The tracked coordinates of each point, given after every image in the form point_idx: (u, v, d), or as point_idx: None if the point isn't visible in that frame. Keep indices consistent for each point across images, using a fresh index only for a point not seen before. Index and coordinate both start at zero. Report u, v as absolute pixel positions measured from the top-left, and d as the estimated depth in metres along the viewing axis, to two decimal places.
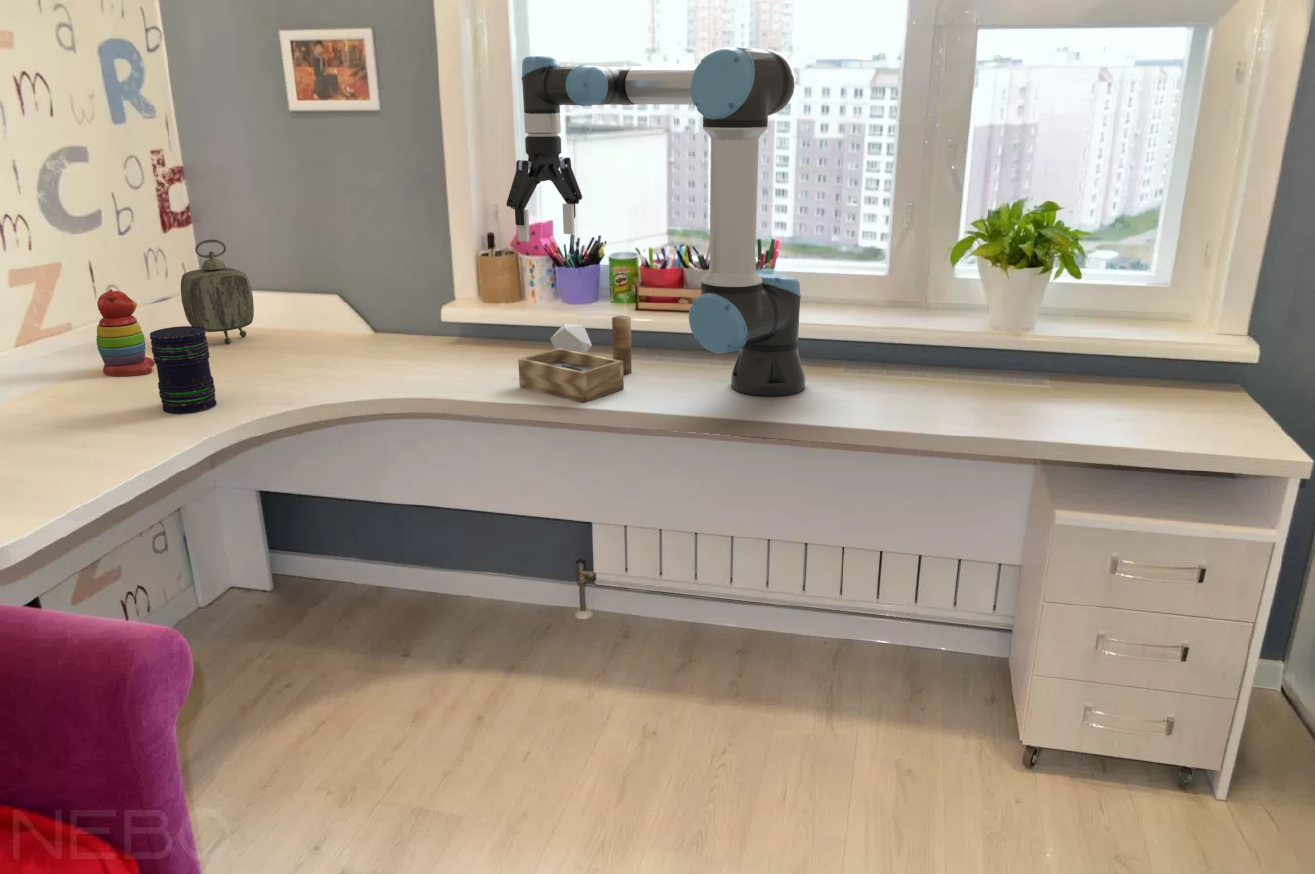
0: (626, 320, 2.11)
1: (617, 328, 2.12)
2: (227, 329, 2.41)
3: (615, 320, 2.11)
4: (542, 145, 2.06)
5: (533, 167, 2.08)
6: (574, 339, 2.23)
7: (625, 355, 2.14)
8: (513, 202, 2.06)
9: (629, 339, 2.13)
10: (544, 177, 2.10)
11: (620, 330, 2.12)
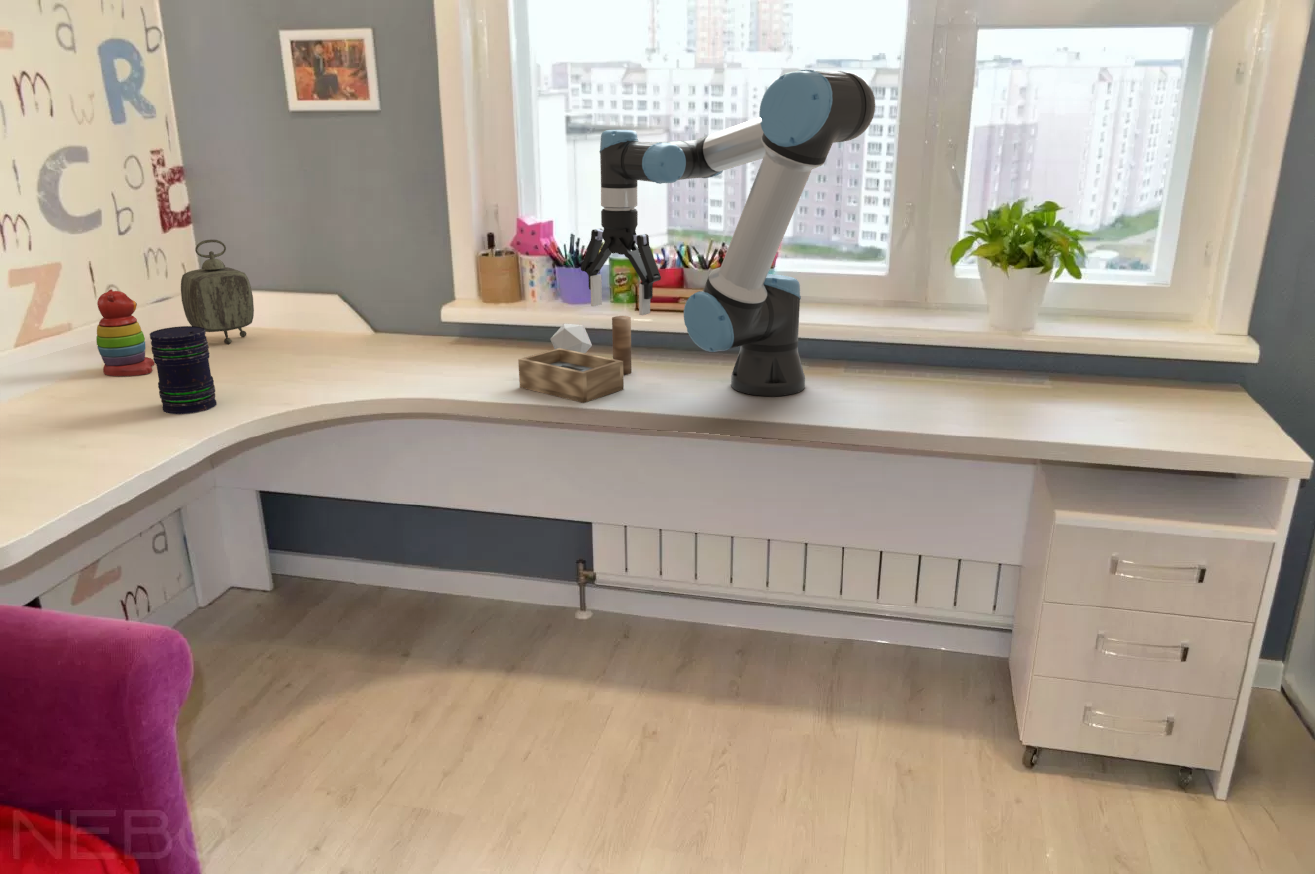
0: (626, 320, 2.11)
1: (617, 328, 2.12)
2: (227, 329, 2.41)
3: (615, 320, 2.11)
4: (601, 217, 2.06)
5: (602, 237, 2.09)
6: (574, 339, 2.23)
7: (625, 355, 2.14)
8: None
9: (629, 339, 2.13)
10: (612, 249, 2.08)
11: (620, 330, 2.12)
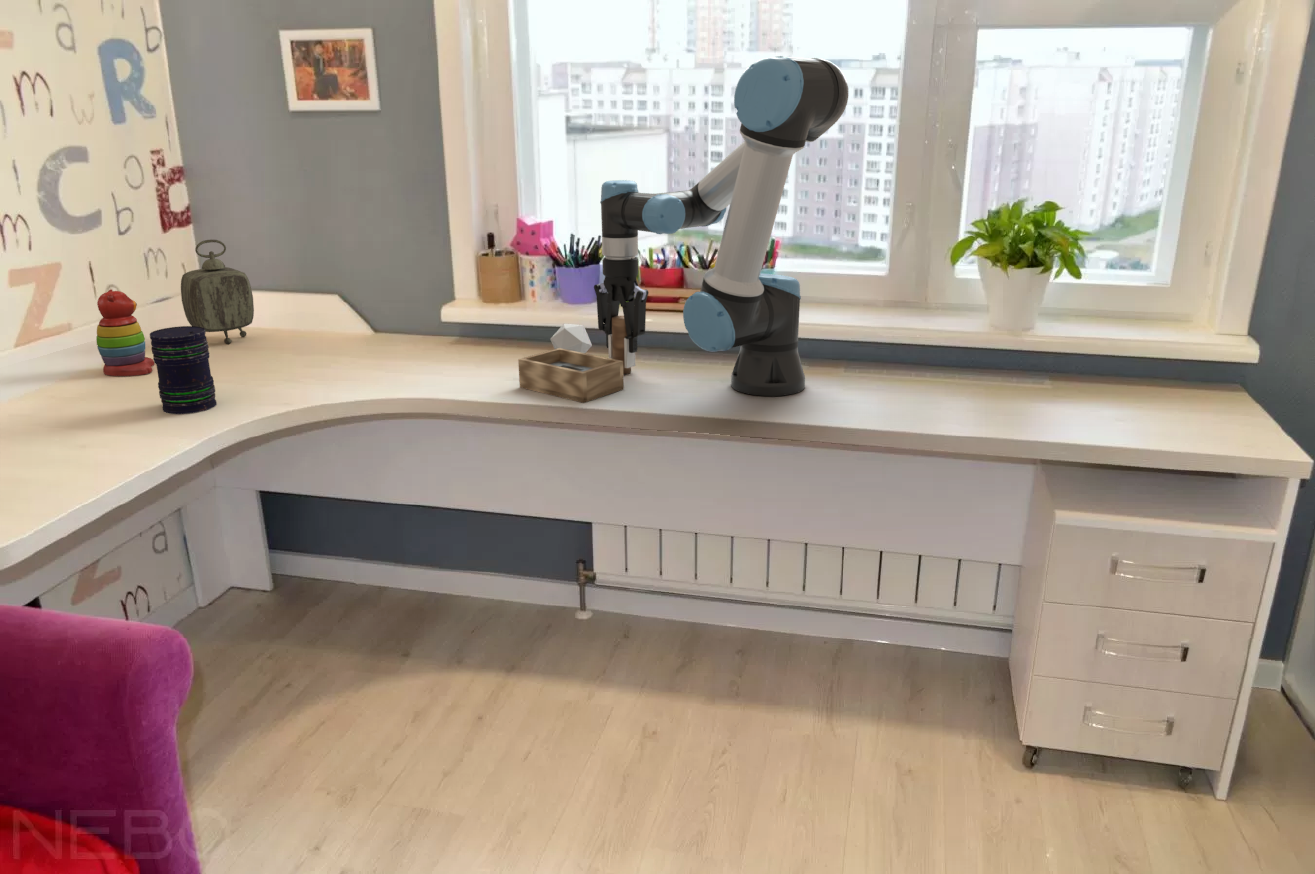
0: None
1: (616, 327, 2.12)
2: (227, 329, 2.41)
3: (615, 320, 2.11)
4: None
5: (604, 285, 2.12)
6: (574, 338, 2.23)
7: None
8: None
9: None
10: (613, 297, 2.11)
11: (620, 330, 2.12)
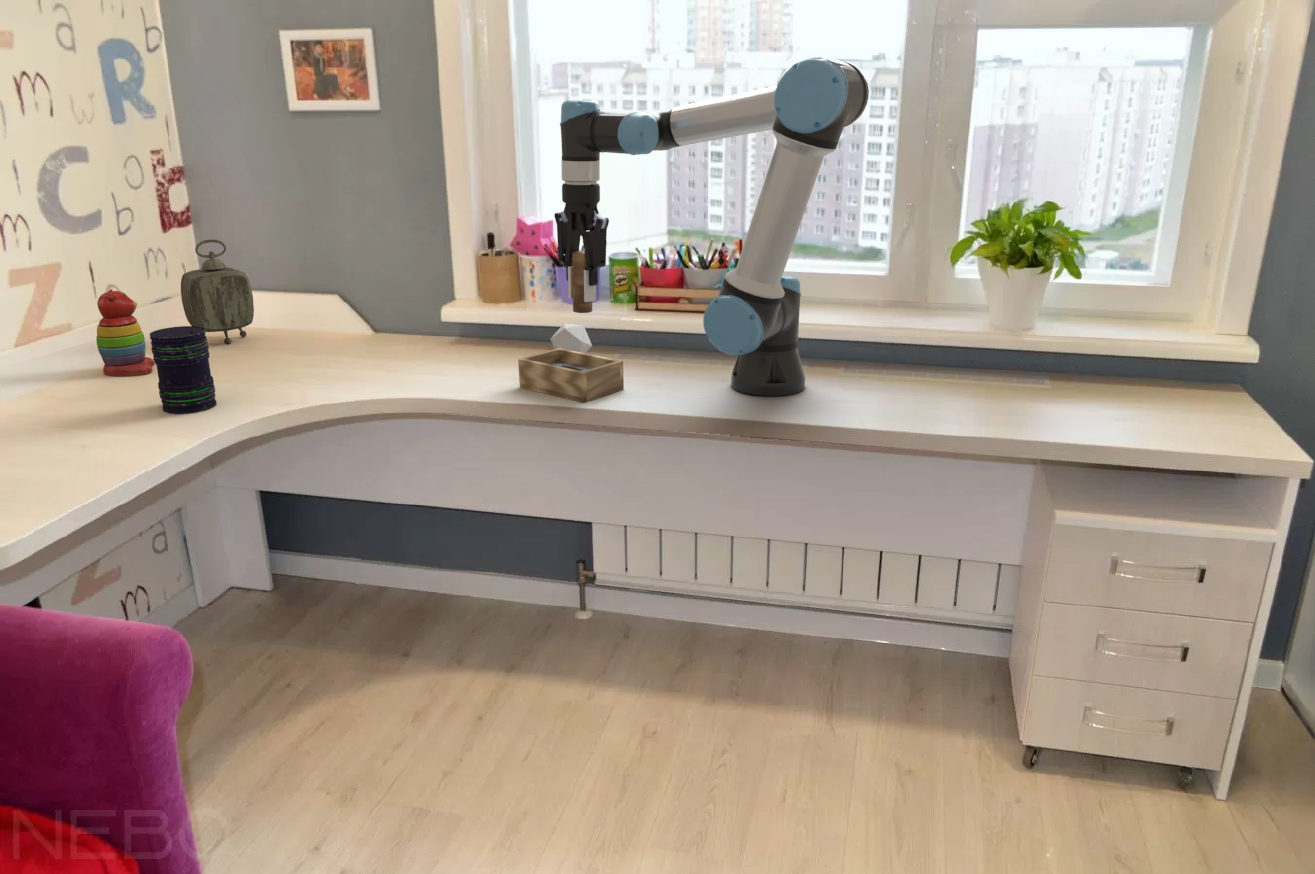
0: None
1: (576, 262, 2.01)
2: (227, 329, 2.41)
3: (575, 254, 2.01)
4: None
5: (564, 213, 2.01)
6: (574, 338, 2.23)
7: None
8: None
9: None
10: (573, 226, 2.00)
11: (580, 265, 2.01)
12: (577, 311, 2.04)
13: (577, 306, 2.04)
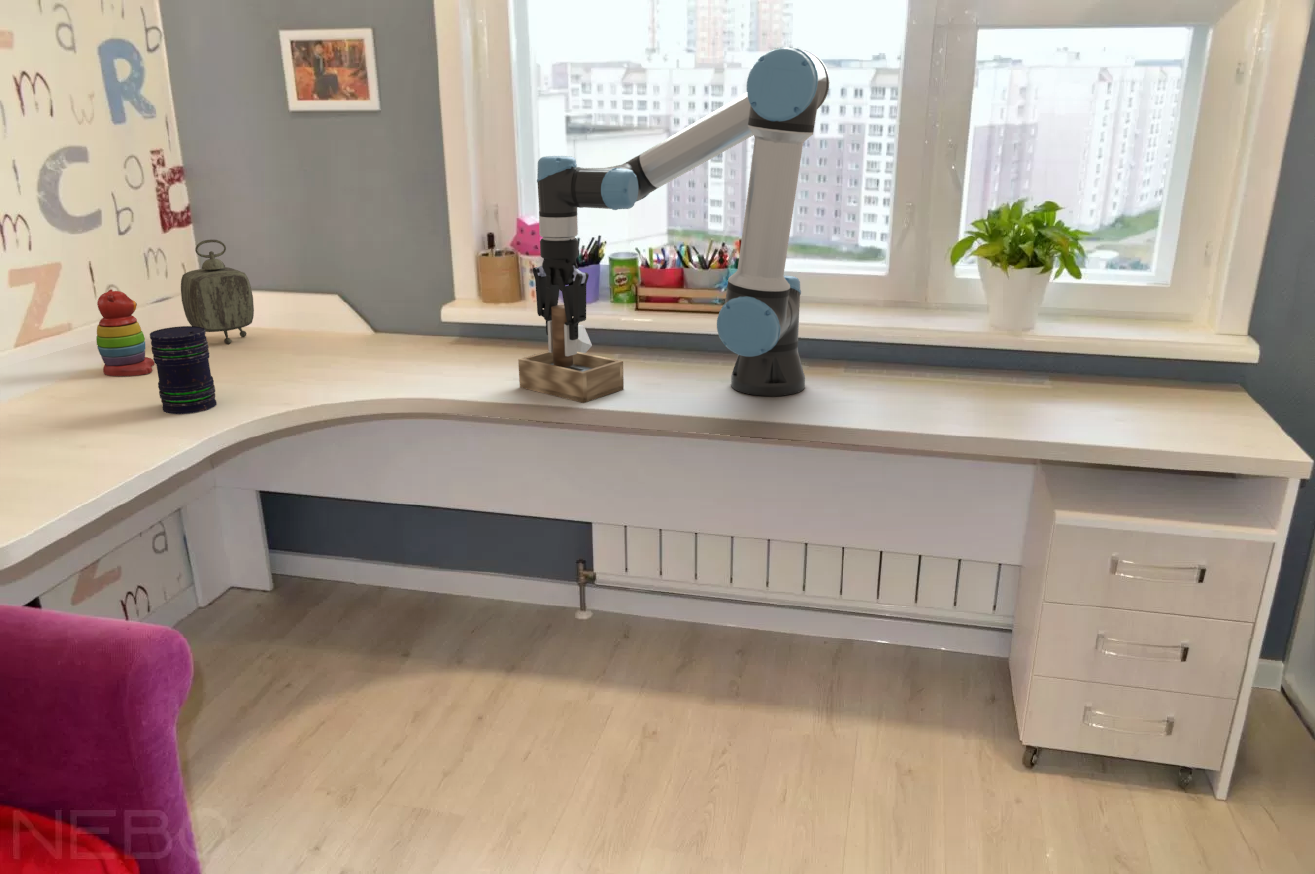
0: None
1: (556, 317, 2.00)
2: (227, 329, 2.41)
3: (554, 309, 1.99)
4: (540, 247, 1.97)
5: (543, 268, 2.00)
6: None
7: None
8: None
9: None
10: (552, 280, 1.99)
11: (560, 320, 2.00)
12: (558, 365, 2.03)
13: (557, 361, 2.03)
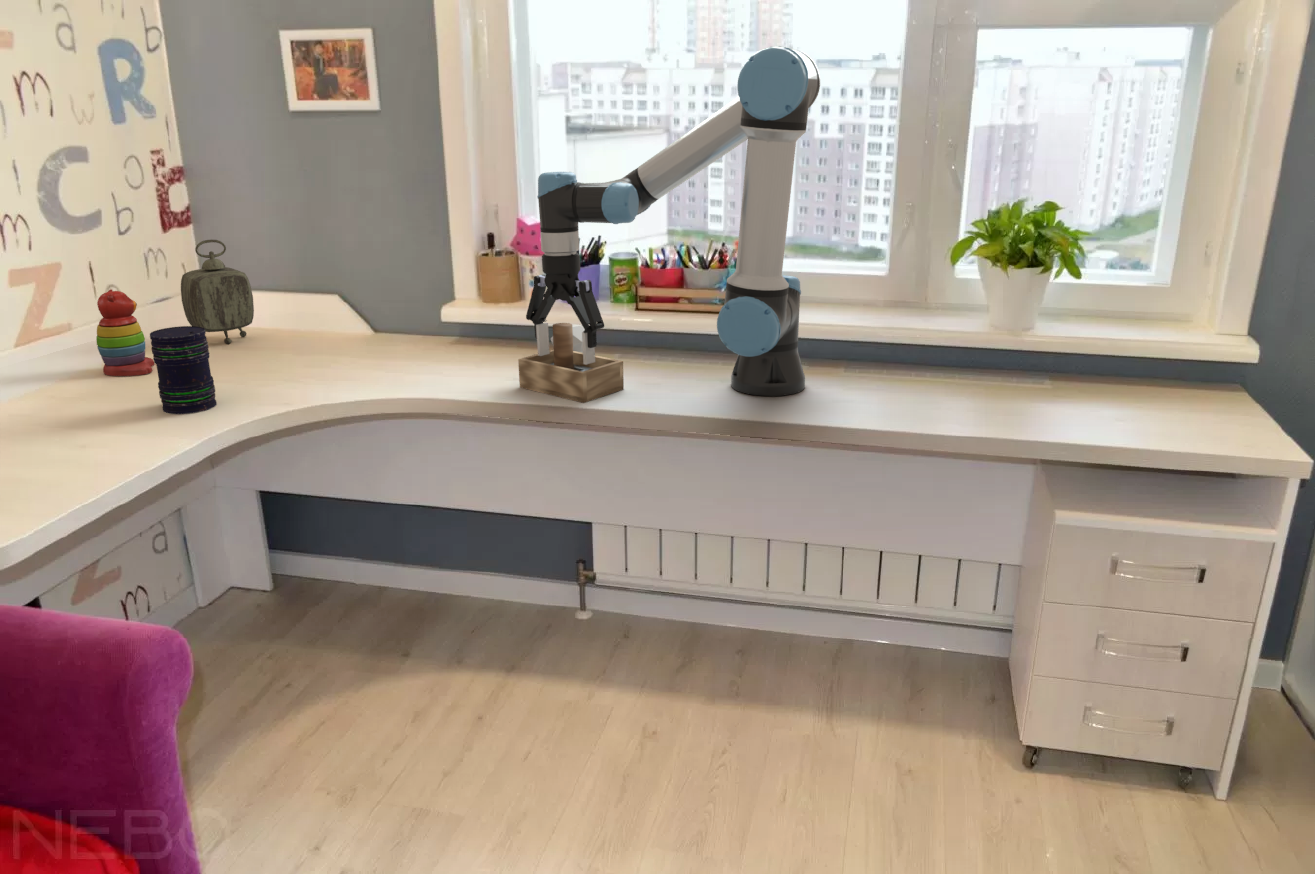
0: (567, 327, 2.00)
1: (557, 335, 2.01)
2: (227, 329, 2.41)
3: (555, 327, 2.01)
4: None
5: (545, 283, 2.01)
6: (574, 339, 2.23)
7: (567, 364, 2.03)
8: None
9: (571, 347, 2.02)
10: (555, 295, 1.99)
11: (561, 338, 2.01)
12: None
13: None
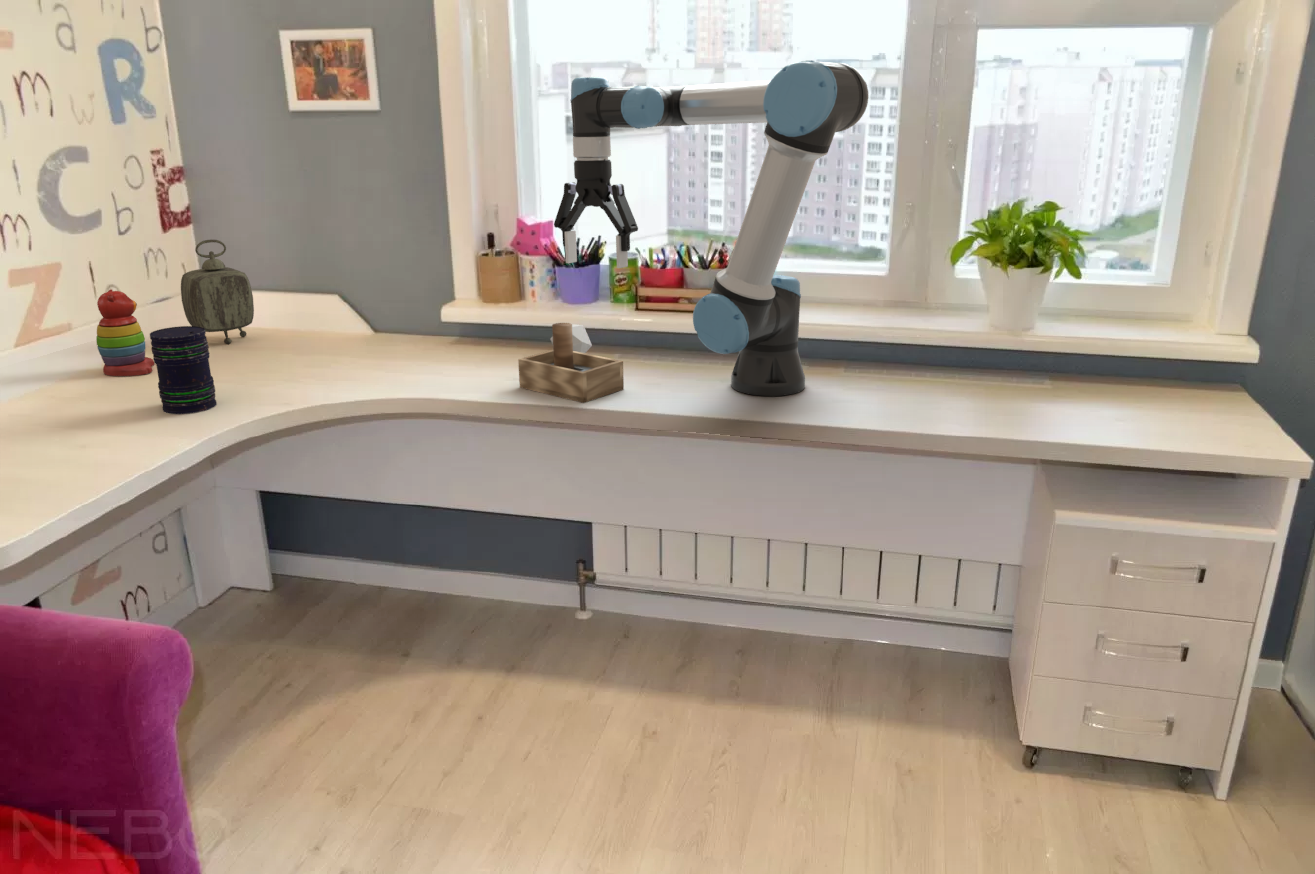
0: (567, 327, 2.01)
1: (557, 335, 2.01)
2: (227, 329, 2.41)
3: (555, 327, 2.01)
4: (574, 168, 2.00)
5: (576, 190, 2.04)
6: (574, 339, 2.23)
7: (567, 364, 2.03)
8: None
9: (570, 347, 2.03)
10: (586, 202, 2.03)
11: (561, 338, 2.01)
12: None
13: None
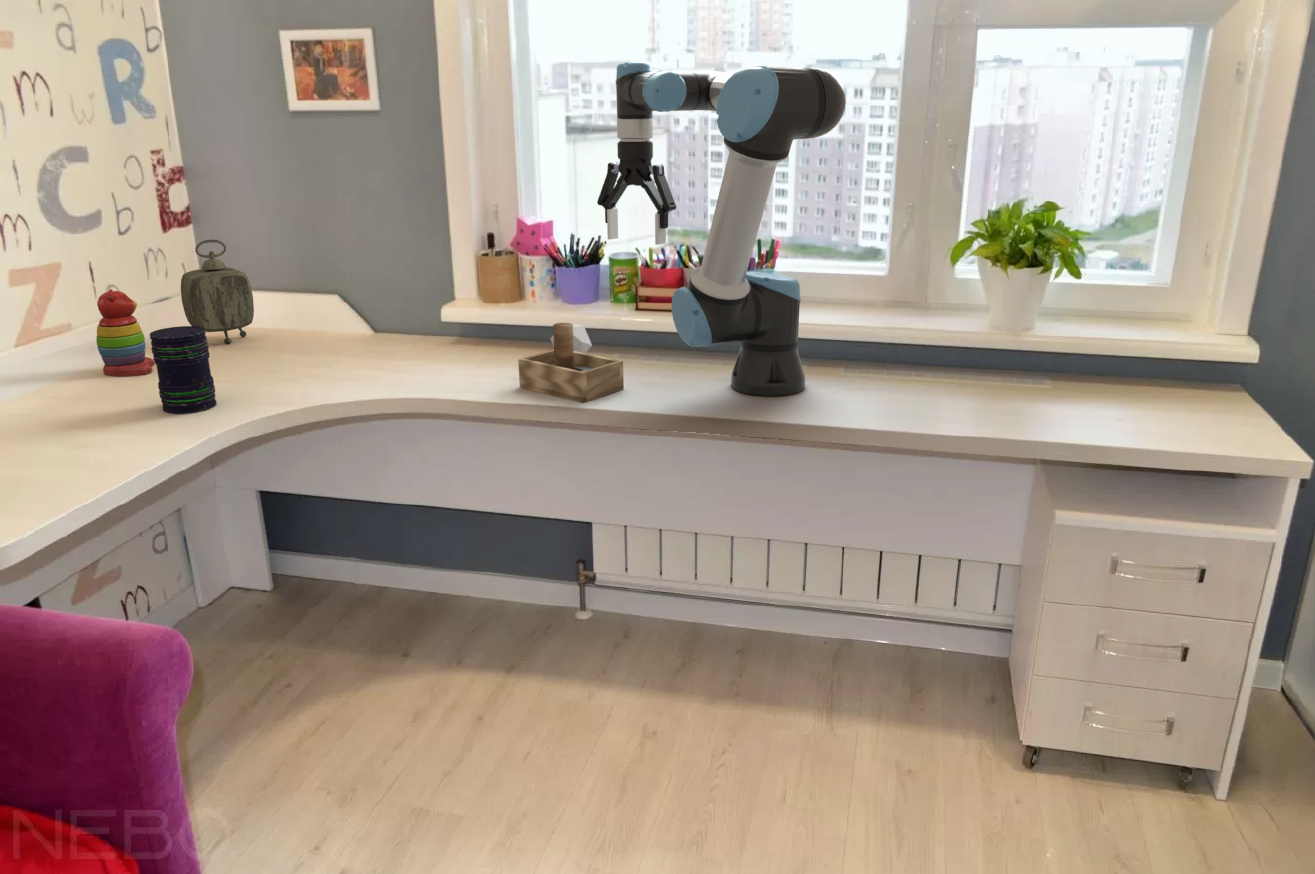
0: (568, 327, 2.00)
1: (558, 335, 2.01)
2: (227, 329, 2.41)
3: (556, 327, 2.00)
4: None
5: (619, 170, 2.15)
6: (574, 339, 2.23)
7: (567, 364, 2.03)
8: None
9: (571, 347, 2.02)
10: (628, 181, 2.13)
11: (562, 338, 2.01)
12: None
13: None
